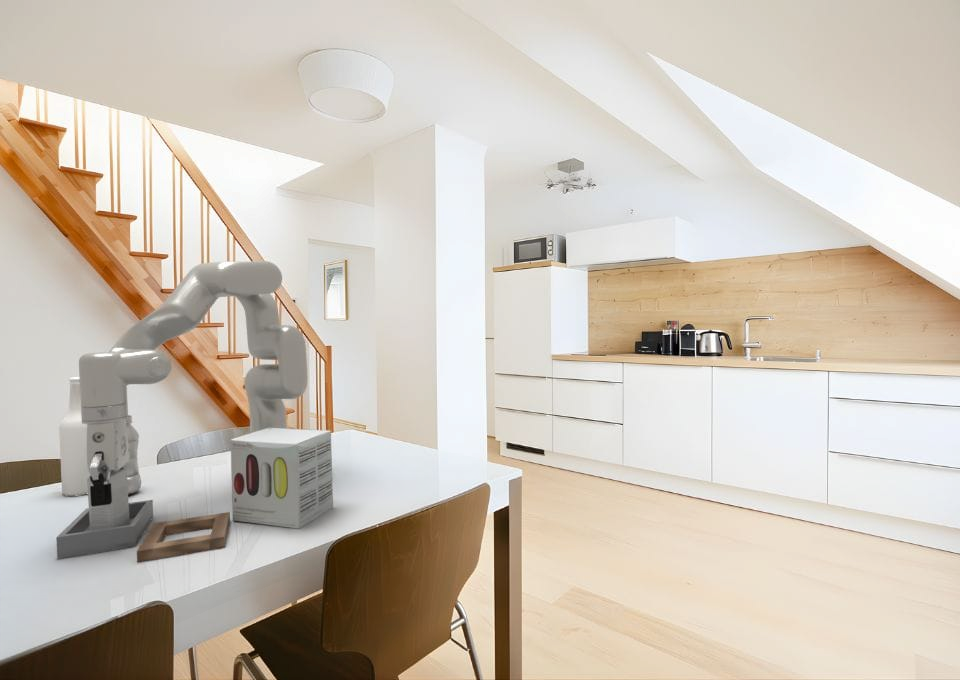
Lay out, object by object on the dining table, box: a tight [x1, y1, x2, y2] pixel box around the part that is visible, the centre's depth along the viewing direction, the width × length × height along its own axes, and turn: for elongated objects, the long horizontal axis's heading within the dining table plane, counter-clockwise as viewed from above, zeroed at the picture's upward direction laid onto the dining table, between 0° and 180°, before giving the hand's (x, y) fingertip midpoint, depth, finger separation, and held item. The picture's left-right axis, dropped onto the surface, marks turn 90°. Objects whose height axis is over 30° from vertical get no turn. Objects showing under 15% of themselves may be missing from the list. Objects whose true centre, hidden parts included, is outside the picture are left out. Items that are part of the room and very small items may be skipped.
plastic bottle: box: [124, 414, 142, 495], centre depth 126 cm, size 6×7×20 cm
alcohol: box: [58, 376, 91, 497], centre depth 129 cm, size 9×9×30 cm
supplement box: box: [230, 428, 334, 530], centre depth 110 cm, size 17×13×18 cm
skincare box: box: [87, 469, 130, 531], centre depth 100 cm, size 6×4×12 cm
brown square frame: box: [136, 511, 231, 563], centre depth 98 cm, size 14×14×2 cm
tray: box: [56, 499, 154, 560], centre depth 100 cm, size 12×16×4 cm
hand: (109, 497), depth 100 cm, fingers open, 9 cm apart
